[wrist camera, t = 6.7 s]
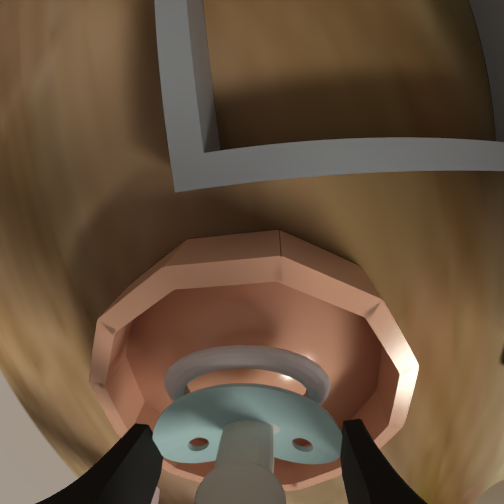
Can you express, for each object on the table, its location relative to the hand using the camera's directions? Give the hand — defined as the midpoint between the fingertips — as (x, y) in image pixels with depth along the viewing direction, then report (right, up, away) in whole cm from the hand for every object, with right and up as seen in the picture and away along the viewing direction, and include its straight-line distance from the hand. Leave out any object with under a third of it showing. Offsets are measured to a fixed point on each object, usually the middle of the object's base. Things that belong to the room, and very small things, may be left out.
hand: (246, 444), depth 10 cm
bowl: (0, +1, +4) cm, 4 cm away
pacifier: (0, +1, +2) cm, 2 cm away
